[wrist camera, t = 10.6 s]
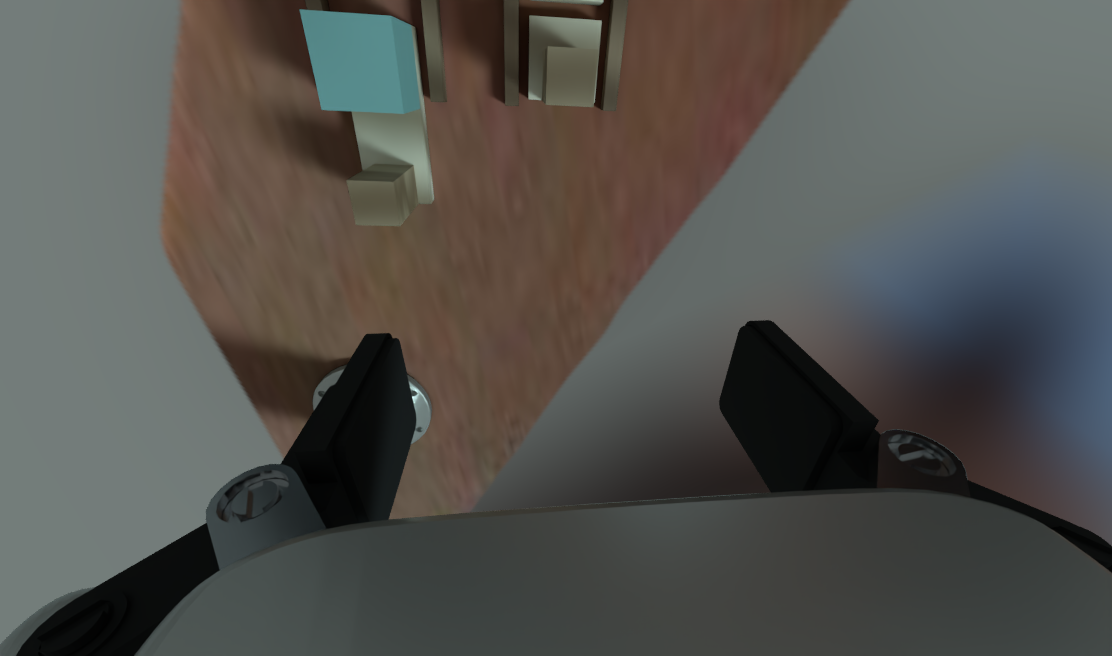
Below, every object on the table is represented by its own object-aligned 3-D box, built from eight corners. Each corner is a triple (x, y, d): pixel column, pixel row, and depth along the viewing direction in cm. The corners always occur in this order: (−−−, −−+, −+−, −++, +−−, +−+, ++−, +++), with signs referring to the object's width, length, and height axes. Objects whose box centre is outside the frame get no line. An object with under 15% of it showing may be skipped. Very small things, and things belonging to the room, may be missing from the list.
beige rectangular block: (591, 101, 32) (609, 107, 26) (528, 98, 32) (529, 103, 25) (598, 22, 29) (619, 8, 23) (529, 18, 29) (531, 1, 23)
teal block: (420, 108, 30) (403, 113, 26) (350, 105, 30) (321, 109, 25) (411, 25, 28) (390, 15, 23) (334, 20, 27) (299, 9, 23)
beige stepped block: (434, 199, 35) (414, 226, 29) (374, 197, 35) (341, 224, 28) (416, 27, 29) (385, 13, 22) (342, 22, 28) (290, 6, 22)
